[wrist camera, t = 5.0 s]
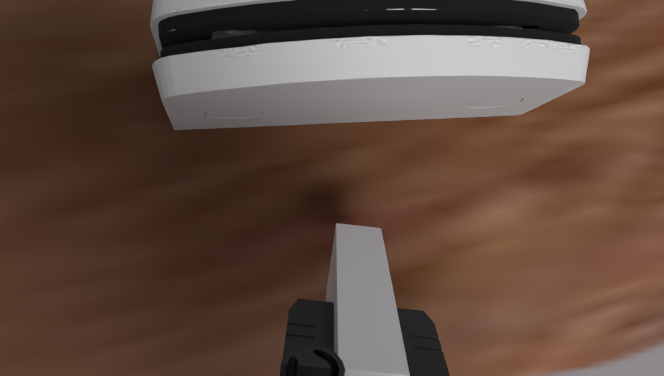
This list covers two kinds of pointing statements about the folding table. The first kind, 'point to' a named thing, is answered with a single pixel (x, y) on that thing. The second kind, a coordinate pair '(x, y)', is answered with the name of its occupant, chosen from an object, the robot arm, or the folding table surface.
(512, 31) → the white black rounded case
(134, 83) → the folding table surface
